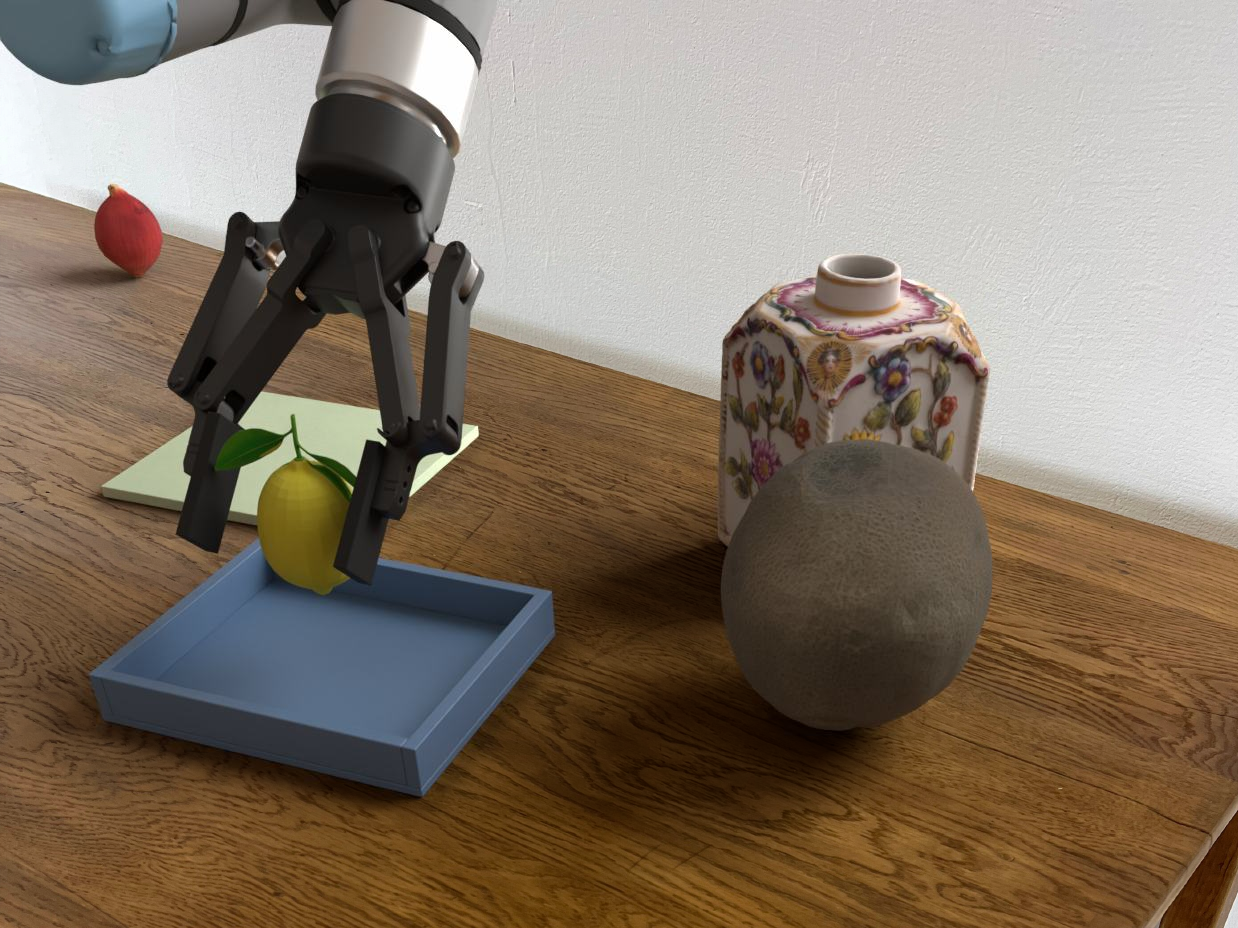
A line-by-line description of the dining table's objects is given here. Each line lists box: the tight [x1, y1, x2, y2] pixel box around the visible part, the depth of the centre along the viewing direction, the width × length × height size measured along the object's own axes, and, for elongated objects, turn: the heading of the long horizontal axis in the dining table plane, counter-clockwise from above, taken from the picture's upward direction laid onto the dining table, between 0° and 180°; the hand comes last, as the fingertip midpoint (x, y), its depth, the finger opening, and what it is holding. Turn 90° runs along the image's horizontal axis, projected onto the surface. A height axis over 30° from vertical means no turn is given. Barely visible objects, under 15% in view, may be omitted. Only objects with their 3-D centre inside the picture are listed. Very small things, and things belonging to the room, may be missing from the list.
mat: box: [100, 390, 480, 527], centre depth 97 cm, size 20×18×1 cm
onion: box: [93, 183, 164, 278], centre depth 125 cm, size 6×6×8 cm
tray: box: [88, 537, 556, 798], centre depth 76 cm, size 20×17×3 cm
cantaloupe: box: [720, 439, 994, 732], centre depth 69 cm, size 14×14×15 cm
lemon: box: [215, 414, 356, 595], centre depth 70 cm, size 7×6×10 cm
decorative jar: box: [717, 253, 991, 547], centre depth 81 cm, size 12×12×18 cm
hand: (273, 559), depth 69 cm, fingers closed on lemon, 8 cm apart
